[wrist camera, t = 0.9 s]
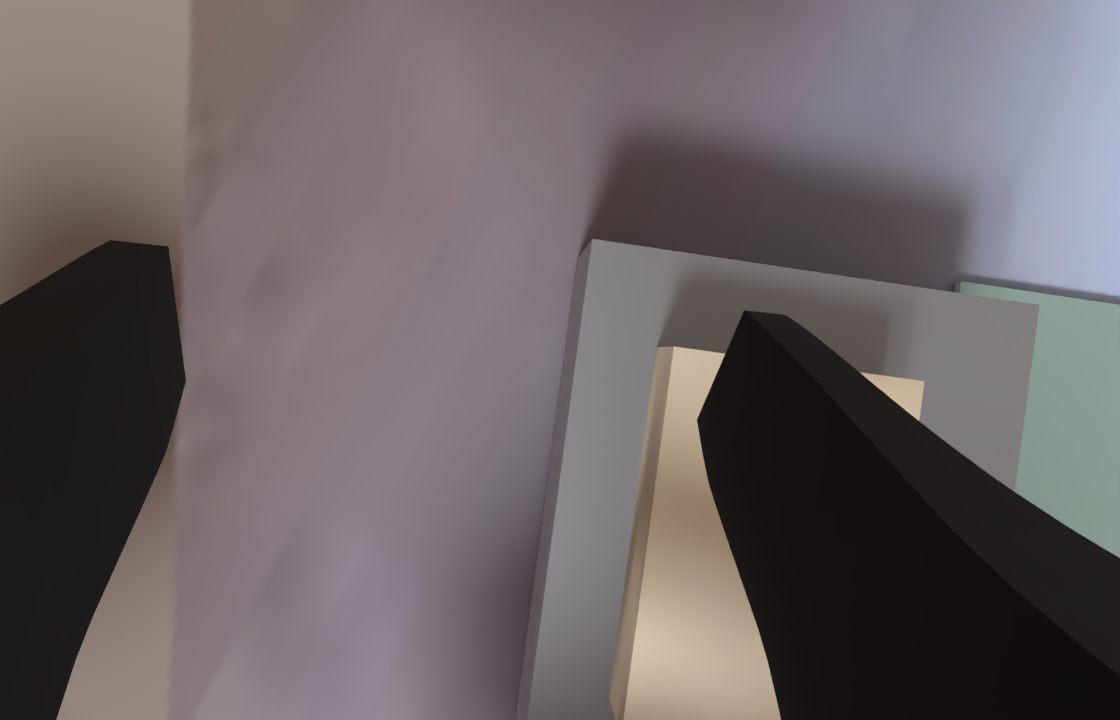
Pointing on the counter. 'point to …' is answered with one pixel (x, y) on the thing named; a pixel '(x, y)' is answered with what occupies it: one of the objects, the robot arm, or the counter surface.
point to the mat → (1071, 413)
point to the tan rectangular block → (692, 568)
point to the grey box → (709, 324)
